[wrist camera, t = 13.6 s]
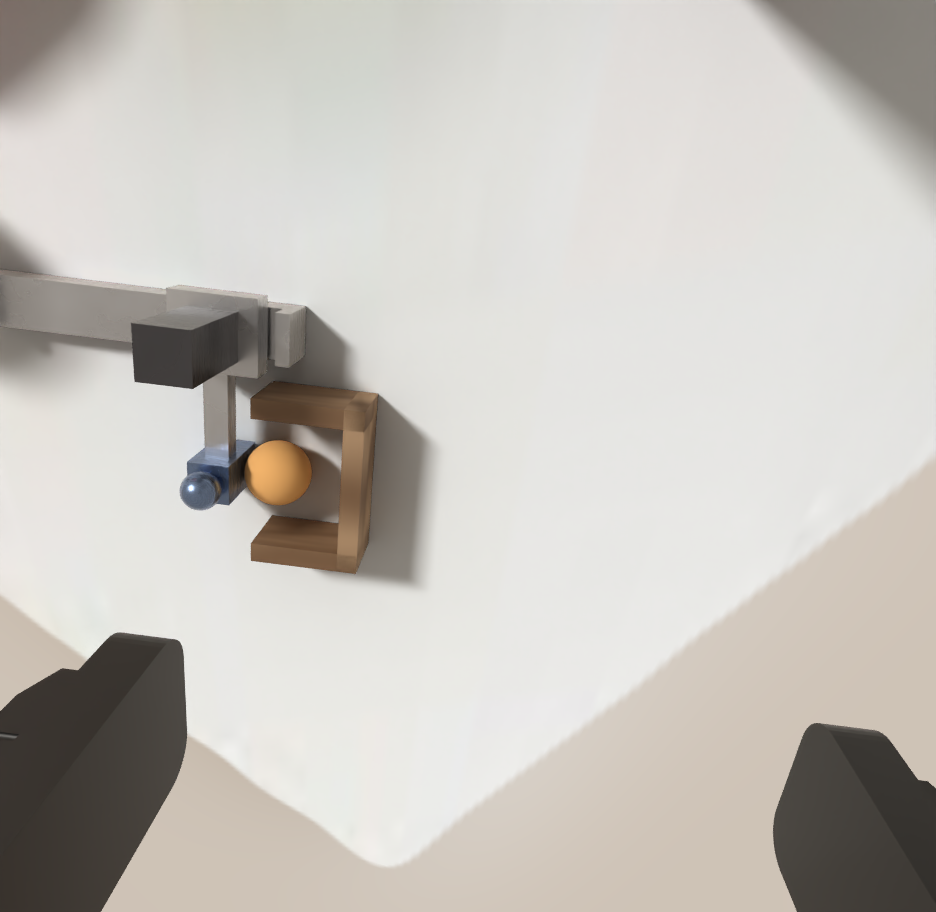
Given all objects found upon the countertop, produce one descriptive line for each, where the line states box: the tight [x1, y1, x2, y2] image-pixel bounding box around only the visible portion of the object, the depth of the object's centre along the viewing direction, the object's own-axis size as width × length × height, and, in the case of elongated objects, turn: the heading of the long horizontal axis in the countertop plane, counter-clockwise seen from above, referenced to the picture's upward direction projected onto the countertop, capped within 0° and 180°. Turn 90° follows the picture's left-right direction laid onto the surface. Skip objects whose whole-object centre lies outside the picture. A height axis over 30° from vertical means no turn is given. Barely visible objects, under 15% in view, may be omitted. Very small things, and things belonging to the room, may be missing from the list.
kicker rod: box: [131, 285, 268, 510], centre depth 37 cm, size 12×5×9 cm, turn 174°
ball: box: [244, 440, 312, 505], centre depth 42 cm, size 4×4×4 cm
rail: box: [0, 269, 306, 368], centre depth 39 cm, size 3×19×3 cm, turn 84°
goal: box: [251, 381, 378, 574], centre depth 42 cm, size 10×6×4 cm, turn 174°
